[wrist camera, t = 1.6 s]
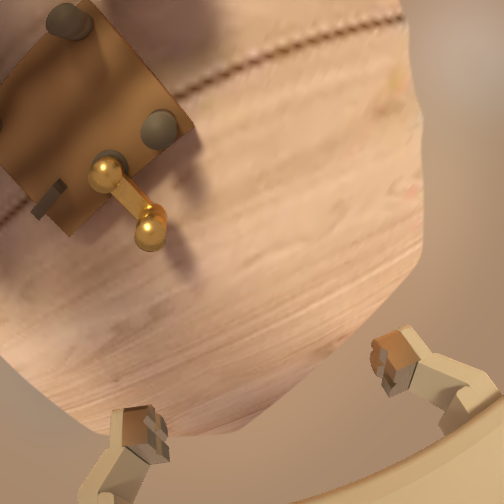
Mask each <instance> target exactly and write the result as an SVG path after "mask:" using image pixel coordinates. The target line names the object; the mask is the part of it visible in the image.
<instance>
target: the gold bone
mask: <svg viewBox="0 0 504 504" xmlns="http://www.w3.org/2000/svg"><path fill="white" fill-rule="evenodd" d="M88 180H89V184H90V186H91V187H92V188H93V189H94V190H95V191H97V192H99V193H110V192H111V194H112V195H113V196H114V197H115V198H116V199H117V200H118V201H119V202H120V203H121V204H122V205H123V206H124V207H125V208H126V209H127V210H128V211H129V212H130V213H131V214H132V215H133V216H134V217H135V218H136V219H137V220H138V222H137V226H136V231H135V236H134V239H135V243H136V244H137V246H138V247H139V248H140V249H142V250H144V251H147V252H154V251H157V250H159V249H161V248H162V247H163V246H164V244H165V241H166V222H167V214H166V211H165V209H164V208H163V207H162V206H160V205H158V204H155V203H153V202H152V201H151V200H150V199H149V198H148V197H147V196H146V195H145V194H144V193H143V192H142V191H141V190H140V189H139V187H138V186H137V185H136V184H135V183H134V182H133V181H132V180H131V179H130V178H129V177H128V176H127V174H126V173H125V172H124V165H123V163H122V161H121V160H120V159H119V158H118V157H117V156H115V155H111V154H107V155H104V156H102V157H100V158H99V159H98V160H97V161H96V162H95V163H94V165H93V166H92V167H91V168H90V170H89V174H88Z"/></svg>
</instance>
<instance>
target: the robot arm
mask: <svg viewBox="0 0 504 504" xmlns="http://www.w3.org/2000/svg"><path fill="white" fill-rule="evenodd" d="M371 346H372V348H373V351H372V352H371V353H370V362H371V367H372V369H373V371H374V373H375V375H376V376H377V377H380V378H382V387H383V388H384V390H385V392H386V393H387V395H388V397H389V398H390V397H392V396H394V395H397V394H399V393H401V392H403V391H406V390H407V389H409V391H410V392H412V393H414V394H416V395H417V396H419V397H421V398H423V399H424V400H426V401H428V402H430V403H431V404H433V405H435V406H437V407H439V408H440V409H442V410H444V411H445V413H444V414H443V416H442V417H441V419H440V421H439V423H438V425H439V427H440V428H441V430H442V432H443V433H444V435H445V436H444V437H443V438H441V439H440V440H438V441H436V442H434V443H433V444H431V445H430V446H427V447H426V448H424V449H422V450H420V451H418V452H417V453H415V454H413V455H411V456H409V457H407V458H405V459H403V460H401V461H399V462H397V463H395V464H393V465H391V466H389V467H387V468H385V469H383V470H380V471H378V472H376V473H374V474H371V475H369V476H367V477H365V478H362V479H359V480H357V481H355V482H352V483H349V484H347V485H344V486H342V487H339V488H336V489H333V490H331V491H328V492H325V493H322V494H319V495H316V496H313V497H310V498H307V499H303V500H299V501H296V502H292V503H289V504H504V395H502V394H501V393H500V391H499V390H498V389H497V387H496V386H495V385H494V383H493V382H492V381H491V379H490V378H489V377H488V376H487V374H486V373H485V372H483V371H481V370H478V369H476V368H473V367H471V366H468V365H466V364H463V363H461V362H458V361H456V360H453V359H450V358H448V357H446V356H443V355H441V354H438V353H434V354H432V352H431V351H430V350H429V349H428V347H427V346H426V345H425V344H424V342H423V341H422V340H421V338H420V337H419V336H418V334H417V333H416V332H415V331H414V329H413V328H412V327H411V326H410V325H406V326H404V327H401V328H399V329H397V330H394V331H392V332H389V333H387V334H385V335H383V336H380V337H378V338H376V339H373V341H372V343H371ZM167 437H168V431H167V427H166V423H165V421H164V419H163V417H162V416H161V415H160V414H157V413H155V408H154V407H153V406H152V405H151V404H150V405H144V406H138V407H131V408H123V409H116V410H113V411H112V413H111V423H110V440H109V448H106V449H105V451H104V452H103V454H102V455H101V457H100V458H99V460H98V461H97V463H96V464H95V466H94V467H93V469H92V470H91V472H90V473H89V475H88V476H87V478H86V479H85V481H84V482H83V484H82V486H81V487H80V488H79V490H78V504H133V502H134V500H135V497H136V495H137V493H138V491H139V489H140V487H141V485H142V482H143V480H144V478H145V476H146V474H147V472H148V469H149V467H150V465H152V464H159V463H166V462H170V457H169V447H168V446H167V445H166V443H165V440H166V439H167Z"/></svg>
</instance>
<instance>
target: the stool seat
mask: <svg viewBox="0 0 504 504" xmlns="http://www.w3.org/2000/svg"><path fill="white" fill-rule="evenodd" d="M46 28H47V31H48V32H47V33H46V34H45V35H44V36H43V37H42V38H41V40H40V41H39V42H38V43H37V44H36V45H35V46H34V47H33V48H32V49H31V50H30V51H29V52H28V53H27V55H26V56H25V57H24V58H23V59H22V60H21V61H20V63H19V64H18V65H17V66H16V67H15V68H14V70H13V71H12V72H11V73H10V75H9V76H8V77H7V78H6V80H5V81H4V82H3V83H2V85H1V86H0V165H1V166H2V167H3V168H4V169H5V170H6V171H7V173H8V174H9V175H10V176H11V177H12V178H13V179H14V180H15V182H16V183H17V184H18V185H19V186H20V187H21V188H22V189H23V190H24V191H25V192H26V194H27V195H28V196H29V197H30V198H31V199H32V200H33V201H34V202H35V203H36V206H35V207H34V208H33V209H32V211H31V213H32V214H33V215H34V216H35V217H36V218H37V219H38V220H40V219H41V218H42V217H43V215H44V214H45V213H46V214H47V215H48V216H49V217H50V218H51V219H52V220H53V221H54V222H55V223H56V224H57V225H58V226H59V227H60V228H61V229H62V230H63V231H64V232H65V233H66V234H67V235H68V236H69V237H70V236H71V235H72V234H73V233H74V232H75V231H76V230H77V229H78V228H79V227H80V226H81V225H82V224H83V223H84V222H85V221H86V220H87V219H88V218H89V217H90V216H91V215H92V214H93V213H94V212H95V211H96V210H97V209H98V208H99V207H100V206H101V205H103V204H104V203H105V202H106V201H107V200H108V199H109V198H110V197H111V196H112V194H111V192H110V193H99V192H97V191H95V190H94V189H93V188H92V187H91V186H90V184H89V180H88V174H89V170H90V168H91V167H92V166H93V165H94V163H95V162H96V161H97V160H98V159H99V158H100V157H102V156H104V155H107V154H111V155H115V156H117V157H118V158H119V159H120V160H121V161H122V163H123V165H124V172H125V173H126V174H127V176H128V177H129V178H130V179H131V178H132V177H133V176H134V175H135V174H137V173H138V172H139V171H140V170H141V169H142V168H143V167H145V166H146V165H147V164H148V163H149V162H151V161H152V160H153V159H154V158H155V157H157V156H158V155H159V154H160V153H161V152H163V151H164V150H165V149H166V148H168V147H169V146H170V145H171V144H173V143H174V142H175V141H176V140H178V139H179V138H180V137H181V136H183V135H184V134H185V133H187V132H188V131H189V130H191V129H192V128H193V127H194V124H193V122H192V121H191V119H190V118H189V117H188V116H187V114H186V113H185V112H184V111H183V109H182V108H181V107H180V106H179V104H178V103H177V102H176V101H175V99H174V98H173V97H172V96H171V95H170V93H169V92H168V91H167V90H166V88H165V87H164V86H163V85H162V84H161V82H160V81H159V80H158V79H157V77H156V76H155V75H154V74H153V73H152V71H151V70H150V69H149V68H148V67H147V65H146V64H145V63H144V62H143V61H142V60H141V58H140V57H139V56H138V55H137V54H136V52H135V51H134V50H133V49H132V48H131V46H130V45H129V44H128V43H127V42H126V41H125V39H124V38H123V37H122V36H121V35H120V34H119V32H118V31H117V30H116V29H115V28H114V27H113V26H112V24H111V23H110V22H109V21H108V20H107V19H106V17H105V16H104V15H103V14H102V13H101V12H100V11H99V9H98V8H97V7H96V6H95V5H94V4H93V3H92V2H91V1H90V0H83V1H81V2H80V3H79V4H78V5H77V6H74V5H73V4H70V3H65V4H61V5H59V6H57V7H56V8H54V9H53V10H52V11H51V12H50V14H49V15H48V18H47V20H46Z"/></svg>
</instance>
